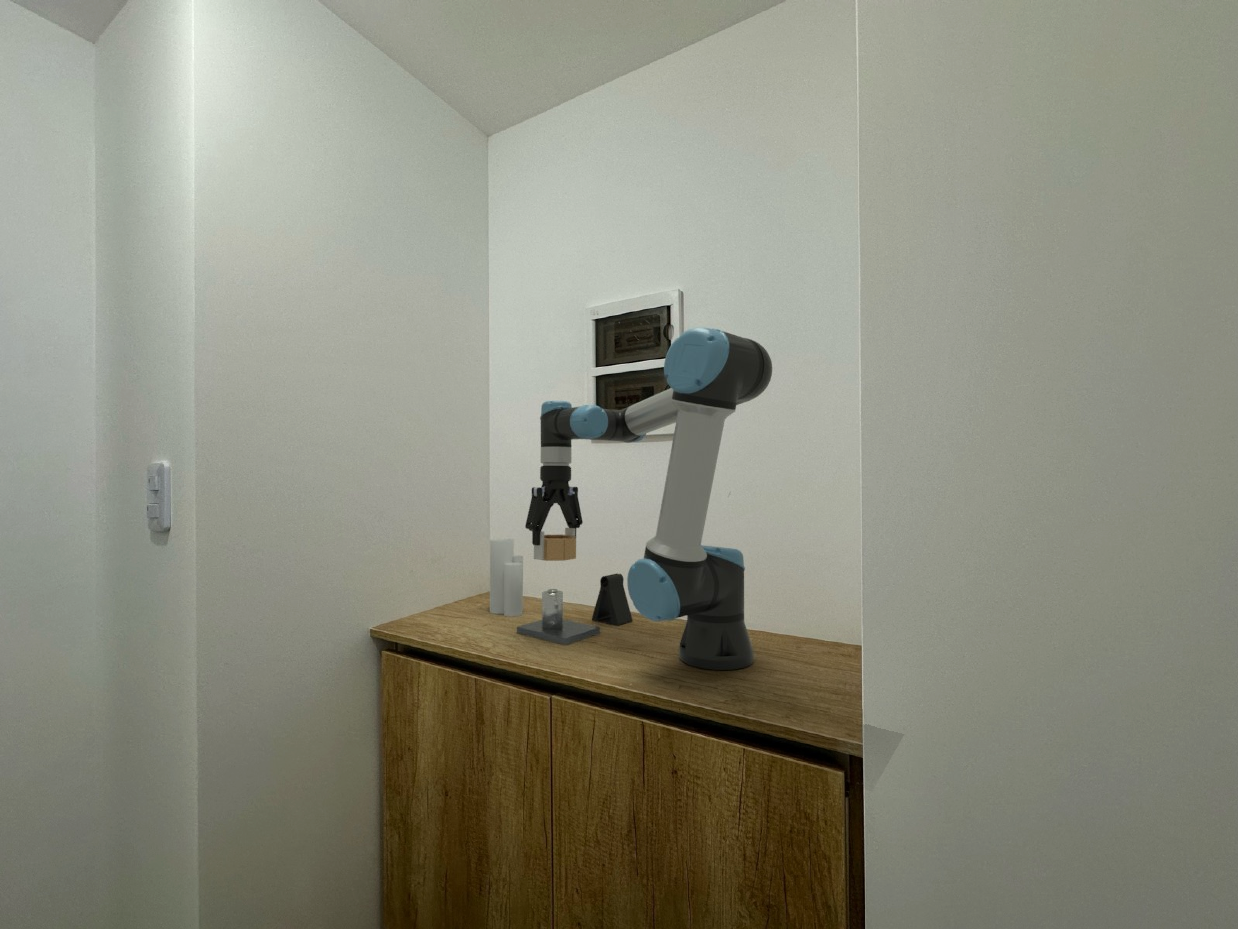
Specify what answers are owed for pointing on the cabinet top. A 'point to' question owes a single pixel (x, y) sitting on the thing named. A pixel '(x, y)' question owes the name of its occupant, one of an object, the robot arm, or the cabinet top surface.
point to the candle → (505, 579)
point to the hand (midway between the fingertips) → (554, 556)
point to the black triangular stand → (612, 602)
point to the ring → (559, 547)
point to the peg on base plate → (556, 622)
